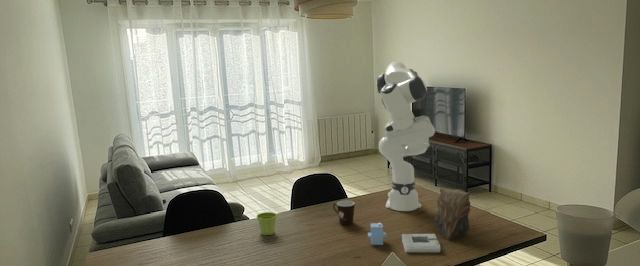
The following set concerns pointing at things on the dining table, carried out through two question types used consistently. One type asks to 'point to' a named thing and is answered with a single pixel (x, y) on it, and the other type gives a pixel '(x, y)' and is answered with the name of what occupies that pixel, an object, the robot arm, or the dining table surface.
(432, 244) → the chassis
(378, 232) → the servo
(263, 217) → the plant pot
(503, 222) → the dining table surface
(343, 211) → the coffee mug
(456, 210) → the brown tall rough block
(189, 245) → the dining table surface
